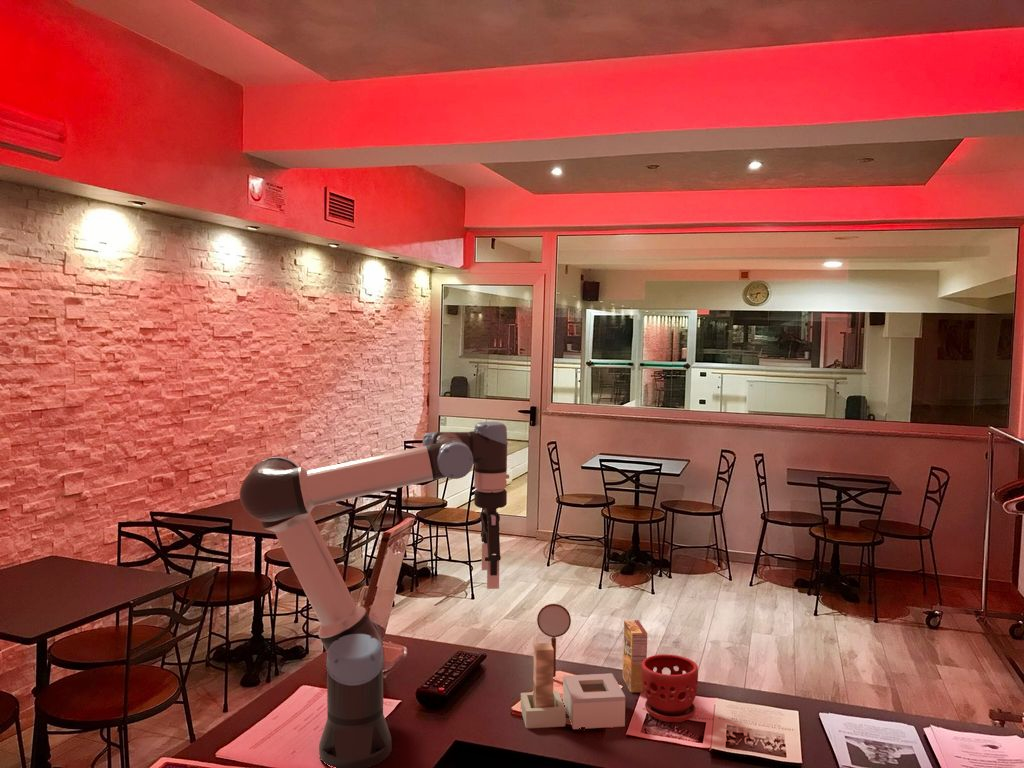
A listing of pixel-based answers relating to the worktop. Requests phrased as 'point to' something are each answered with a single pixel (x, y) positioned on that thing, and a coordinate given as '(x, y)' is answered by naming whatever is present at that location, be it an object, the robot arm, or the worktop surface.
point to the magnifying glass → (554, 624)
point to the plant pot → (669, 687)
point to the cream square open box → (542, 712)
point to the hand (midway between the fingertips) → (489, 578)
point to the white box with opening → (594, 701)
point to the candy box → (634, 654)
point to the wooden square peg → (543, 675)
